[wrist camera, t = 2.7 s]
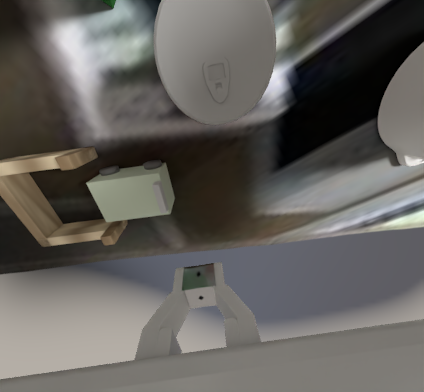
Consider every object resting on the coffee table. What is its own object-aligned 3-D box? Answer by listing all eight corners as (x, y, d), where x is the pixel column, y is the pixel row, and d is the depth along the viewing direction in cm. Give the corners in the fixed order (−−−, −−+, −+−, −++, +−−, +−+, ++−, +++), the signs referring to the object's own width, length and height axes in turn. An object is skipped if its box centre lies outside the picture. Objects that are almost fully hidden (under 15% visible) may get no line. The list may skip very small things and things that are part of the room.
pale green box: (164, 158, 24) (154, 171, 19) (175, 201, 28) (170, 222, 23) (103, 166, 24) (77, 182, 19) (121, 208, 28) (103, 231, 23)
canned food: (197, 128, 22) (194, 144, 13) (162, 61, 19) (121, 13, 9) (250, 98, 21) (292, 91, 11) (224, 20, 18) (251, -86, 8)
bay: (93, 146, 23) (67, 155, 18) (127, 223, 29) (114, 243, 24) (7, 158, 23) (-40, 170, 19) (59, 232, 29) (33, 254, 25)
